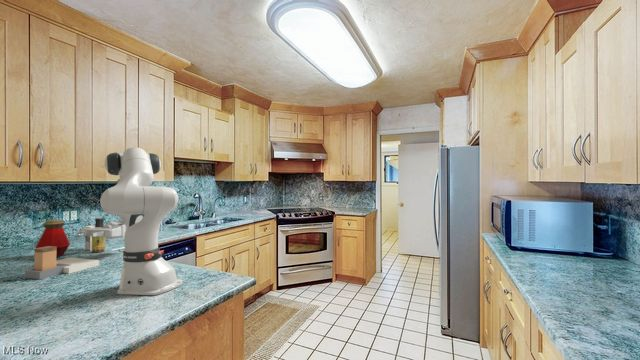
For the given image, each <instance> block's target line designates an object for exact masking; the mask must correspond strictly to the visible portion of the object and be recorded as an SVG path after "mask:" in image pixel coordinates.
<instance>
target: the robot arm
mask: <svg viewBox="0 0 640 360" xmlns="http://www.w3.org/2000/svg"><path fill="white" fill-rule="evenodd" d="M104 167H105V170H106V171H107V174H110V175H111V176H119V179H117V181H116V183H115V185H114V186H112V187H108V188H106V190H105V191H104V192H103V193H102V194H101V196H100V199H99V201H100V207H101V209H102V210H103V212H104V213H105V214H107V215H116V216H117V217H119V218H121V220H119V221H111V222H106V224H105V225H103V226H104V227H94V228H82V229H81V230H80V231H78V232H77V231H76V237H85V236H92V237H95V236H98V237H105V239H106V238H107V239H108V240H114V239H119V238H124V250H123V253H122V260H123V266H122V270H121V272H120V273H121V275H120V280H119V281H120V282H119V287H118V290H117V292H116V294H117V295H130V296H131V295H134V296H135V295H137V296H139V295H141V296H156V295H160V294H163V293H167V292H169V291H172V290H174V289H176V288H178V287H180V286H181V285H182V284H183V283H184V281H183V279H181V278H177V274H176V269H175V267H173V265H171V264H170V263H168V261H166V260H165V259H164V258H163V257H162V256H163V255H162V254H163V253H164V251H165V250H164V249H163V250H160V247H159V233H160V232H159V231H160V228H161V225H162V223H163V221H164V219H165V218H166V216H167V215H169V213H170V212H172V211H174V210H175V208H176V207H178V204H179V195H178V193H177V191H176V189H174V188H172V187H168V186H161V185H160V186H159V185H158V186H157V185H155V186H154V185H153V186H151V184H152V183H153V182H154V179H155V178H154V177H155V176H154V175H157V174H158V173H159V172H160V169H161V168H162V162H161V159H160V157H159V156H158V155H157V154H156V153H147V151H146V150H145V149H143V148H140V147H137V146H136V147H135V146H133V147H129V148H127V149H125V150H124V152H112V153H109V154H107V155H106V157H105V160H104Z"/></svg>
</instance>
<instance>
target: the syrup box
mask: <svg viewBox="0 0 640 360" xmlns="http://www.w3.org/2000/svg"><path fill="white" fill-rule="evenodd" d="M94 227H95V224H90V225H87V226H86V225H85V228H94ZM85 228H84V229H85ZM84 238H85V241H84V243H85V244H84V245H85V246H84V247H85V250H86V251H91V252H92V249H91V248H92V236H84Z"/></svg>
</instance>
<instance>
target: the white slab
mask: <svg viewBox="0 0 640 360" xmlns="http://www.w3.org/2000/svg"><path fill="white" fill-rule="evenodd" d="M98 266H100V259H93V258H92V259H90V258H80V257H78V258H77V257H70V256H69V257H66V258H61V259H56V268H52V269H48V270H44V271H35V270H34V267H33V268H30V269H26V270H24V278H25V279H26V278H27V279H34V280H35V279H36V280H42V279H46V278H49V277H54V276H57V275H60V274H61V275H62V274H68V275H69V274H73V273H77V272H80V271H84V270H87V269H90V268H95V267H98Z"/></svg>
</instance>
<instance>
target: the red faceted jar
mask: <svg viewBox="0 0 640 360" xmlns="http://www.w3.org/2000/svg"><path fill="white" fill-rule="evenodd" d="M43 226H44V231H43V233H42V234H41V236H40V238H39V241H38V242H37V244H36V246H35V248H41V247H46V246H53V247H57V253H56V257H57V258H61V257H63V256H64V255H65V254H66V252H67V250H68V249H69V248H70V245H71V243H70V241H69V239H68V236H67V234H66V232H65V230H64V228H63V227H64V226H65V221H63V220H62V219H48V220H46V221H45V222H44V223H43ZM35 248H34V249H35ZM60 256H61V257H60Z"/></svg>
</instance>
